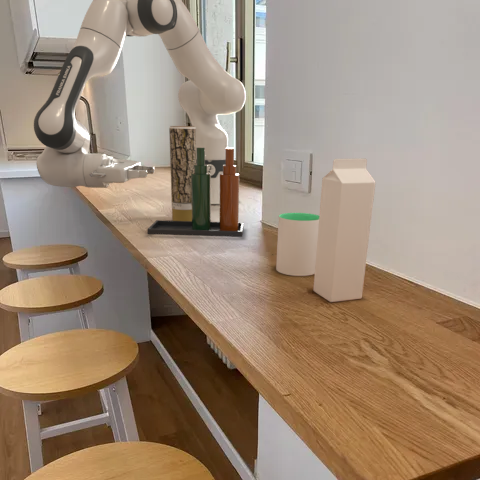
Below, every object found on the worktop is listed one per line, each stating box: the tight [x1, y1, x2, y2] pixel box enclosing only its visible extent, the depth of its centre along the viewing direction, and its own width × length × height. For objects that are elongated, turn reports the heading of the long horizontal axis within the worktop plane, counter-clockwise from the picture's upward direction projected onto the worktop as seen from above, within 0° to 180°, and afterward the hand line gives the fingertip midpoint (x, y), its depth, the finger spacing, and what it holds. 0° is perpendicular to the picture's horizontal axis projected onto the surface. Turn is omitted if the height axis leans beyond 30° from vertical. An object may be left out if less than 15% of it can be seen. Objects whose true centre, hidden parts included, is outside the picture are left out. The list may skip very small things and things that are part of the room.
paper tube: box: [168, 125, 196, 221], centre depth 133 cm, size 7×7×25 cm
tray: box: [146, 219, 245, 238], centre depth 126 cm, size 11×23×2 cm, turn 88°
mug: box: [275, 212, 319, 277], centre depth 96 cm, size 12×8×10 cm, turn 109°
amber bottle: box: [218, 147, 240, 231], centre depth 122 cm, size 5×5×20 cm
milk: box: [312, 158, 377, 303], centre depth 79 cm, size 6×6×22 cm
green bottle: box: [191, 147, 212, 230], centre depth 122 cm, size 5×5×20 cm
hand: (150, 172), depth 133 cm, fingers open, 8 cm apart
